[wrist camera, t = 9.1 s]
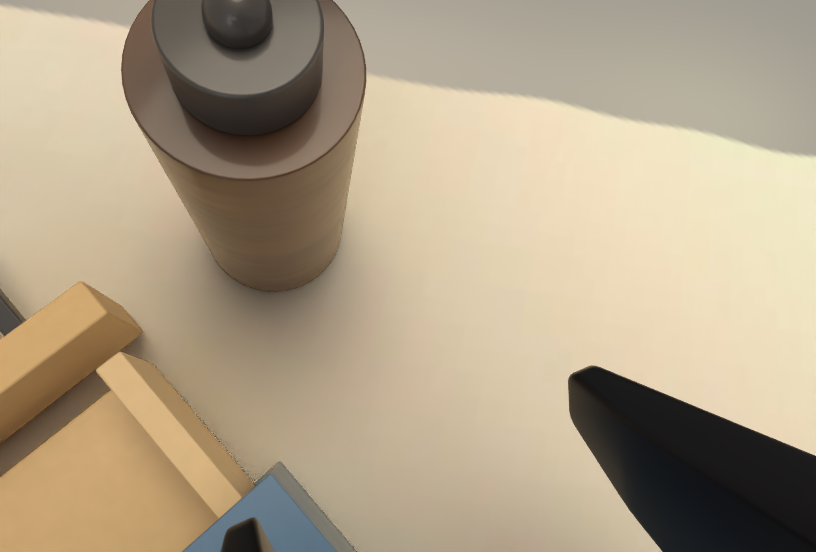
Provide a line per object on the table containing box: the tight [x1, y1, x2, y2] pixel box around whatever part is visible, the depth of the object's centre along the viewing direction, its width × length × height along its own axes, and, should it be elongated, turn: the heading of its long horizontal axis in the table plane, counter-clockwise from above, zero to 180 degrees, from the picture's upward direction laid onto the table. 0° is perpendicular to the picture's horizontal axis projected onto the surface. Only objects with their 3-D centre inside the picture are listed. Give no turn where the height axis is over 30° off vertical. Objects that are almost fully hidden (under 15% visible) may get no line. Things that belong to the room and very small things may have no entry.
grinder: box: [121, 0, 366, 291], centre depth 17 cm, size 5×5×13 cm
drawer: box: [0, 281, 255, 552], centre depth 18 cm, size 18×11×4 cm, turn 41°
